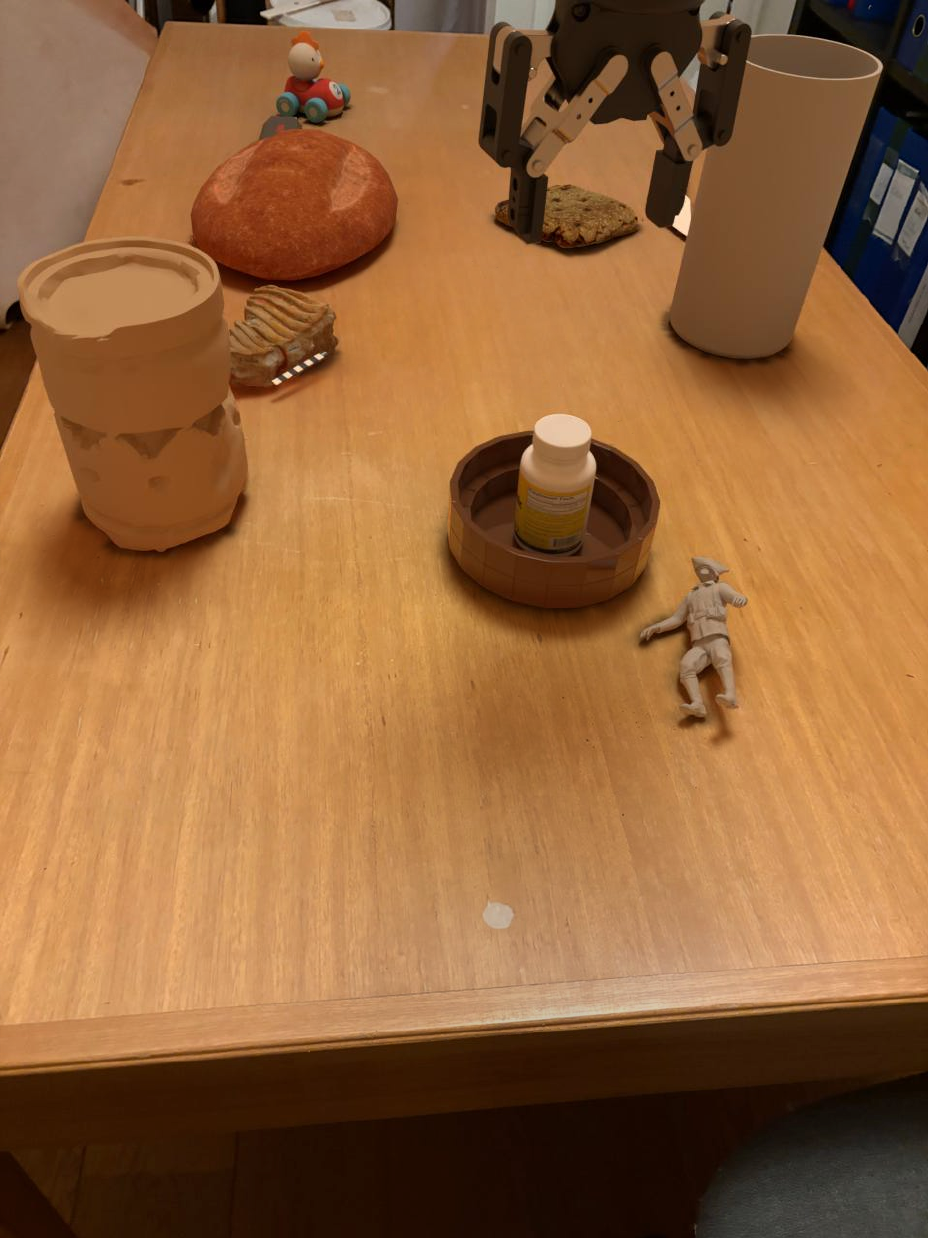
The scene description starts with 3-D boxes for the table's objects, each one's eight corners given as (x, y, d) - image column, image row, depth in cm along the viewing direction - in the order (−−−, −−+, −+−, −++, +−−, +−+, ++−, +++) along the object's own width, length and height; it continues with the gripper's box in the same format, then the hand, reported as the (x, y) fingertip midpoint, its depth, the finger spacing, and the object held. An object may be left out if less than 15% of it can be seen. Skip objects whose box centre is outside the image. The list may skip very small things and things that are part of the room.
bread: (407, 179, 118) (407, 103, 112) (383, 300, 96) (382, 213, 90) (229, 168, 118) (220, 90, 112) (165, 285, 96) (148, 198, 90)
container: (177, 576, 67) (123, 349, 54) (49, 515, 70) (-31, 289, 57) (284, 484, 74) (260, 267, 61) (163, 434, 78) (116, 220, 65)
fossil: (345, 340, 90) (255, 317, 90) (348, 289, 86) (253, 266, 85) (310, 423, 83) (213, 399, 83) (311, 374, 79) (207, 348, 79)
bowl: (683, 586, 68) (699, 534, 65) (494, 635, 64) (500, 583, 60) (590, 466, 78) (599, 416, 74) (419, 502, 74) (420, 450, 70)
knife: (654, 158, 127) (656, 150, 127) (687, 162, 127) (688, 154, 126) (653, 239, 109) (655, 230, 109) (690, 243, 109) (692, 234, 108)
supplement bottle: (529, 506, 73) (543, 399, 66) (593, 528, 72) (614, 421, 65) (500, 546, 70) (512, 437, 63) (567, 570, 68) (587, 462, 61)
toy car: (327, 126, 130) (323, 45, 123) (271, 115, 132) (264, 35, 125) (356, 107, 136) (353, 29, 129) (302, 97, 138) (296, 19, 131)
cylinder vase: (652, 341, 93) (713, 60, 75) (686, 290, 101) (749, 25, 83) (776, 375, 90) (870, 90, 72) (801, 319, 98) (892, 50, 80)
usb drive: (257, 165, 119) (255, 142, 117) (266, 132, 127) (264, 110, 125) (298, 167, 120) (297, 144, 118) (304, 133, 128) (303, 111, 126)
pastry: (645, 259, 106) (651, 233, 104) (494, 250, 106) (496, 224, 103) (630, 197, 118) (634, 173, 116) (494, 189, 118) (495, 165, 115)
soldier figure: (639, 721, 61) (629, 560, 66) (679, 739, 64) (666, 584, 69) (748, 693, 56) (728, 522, 61) (785, 714, 59) (763, 550, 64)
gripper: (541, -109, 38) (507, 274, 49) (827, -112, 42) (734, 243, 53) (472, -140, 42) (456, 217, 54) (735, -140, 47) (667, 192, 58)
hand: (594, 229), depth 54 cm, fingers open, 8 cm apart
